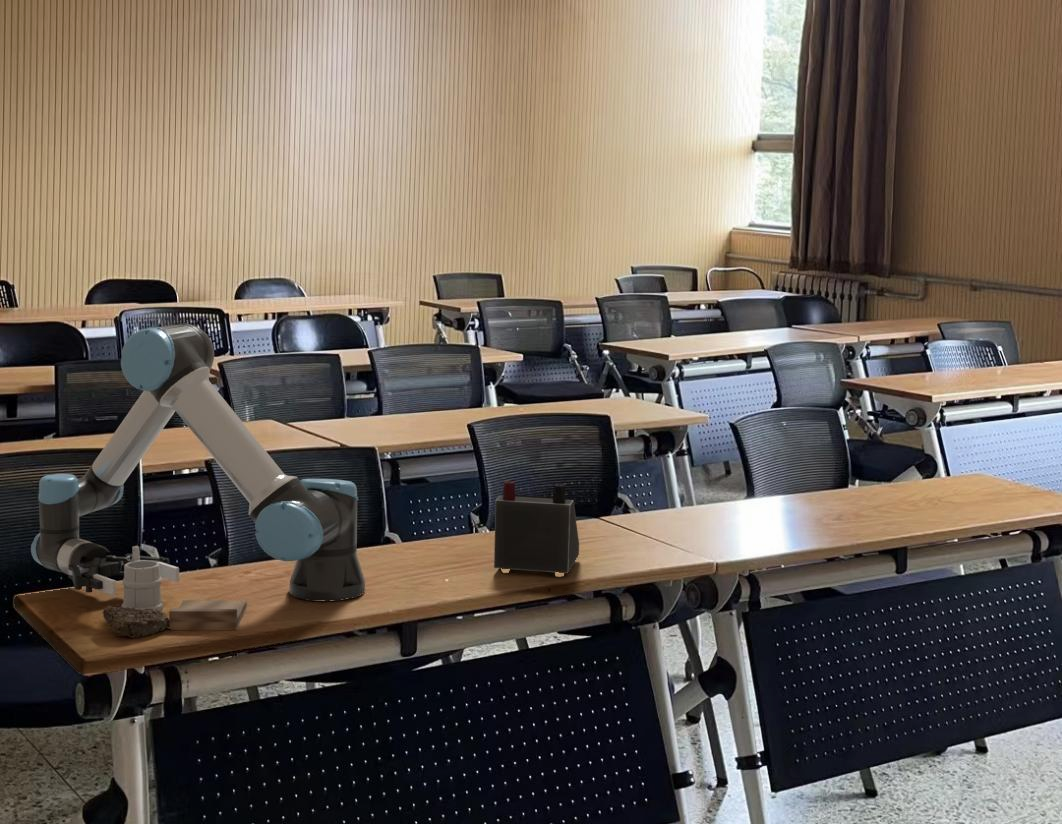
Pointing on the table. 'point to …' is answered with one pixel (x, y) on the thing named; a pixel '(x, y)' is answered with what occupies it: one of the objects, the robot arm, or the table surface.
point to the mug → (142, 583)
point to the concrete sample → (135, 621)
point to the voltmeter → (535, 531)
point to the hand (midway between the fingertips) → (146, 581)
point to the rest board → (207, 615)
